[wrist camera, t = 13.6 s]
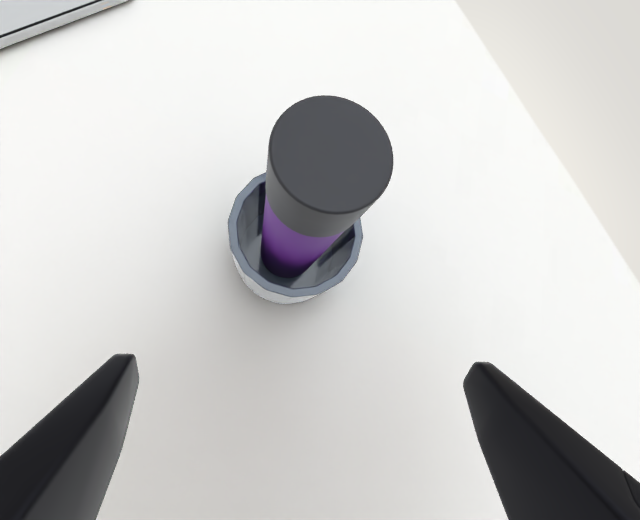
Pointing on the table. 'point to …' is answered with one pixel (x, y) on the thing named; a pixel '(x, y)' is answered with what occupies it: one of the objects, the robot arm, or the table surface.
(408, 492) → the table surface
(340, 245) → the pen holder
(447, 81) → the table surface
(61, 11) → the smartphone
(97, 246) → the table surface
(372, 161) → the glue stick
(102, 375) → the robot arm
